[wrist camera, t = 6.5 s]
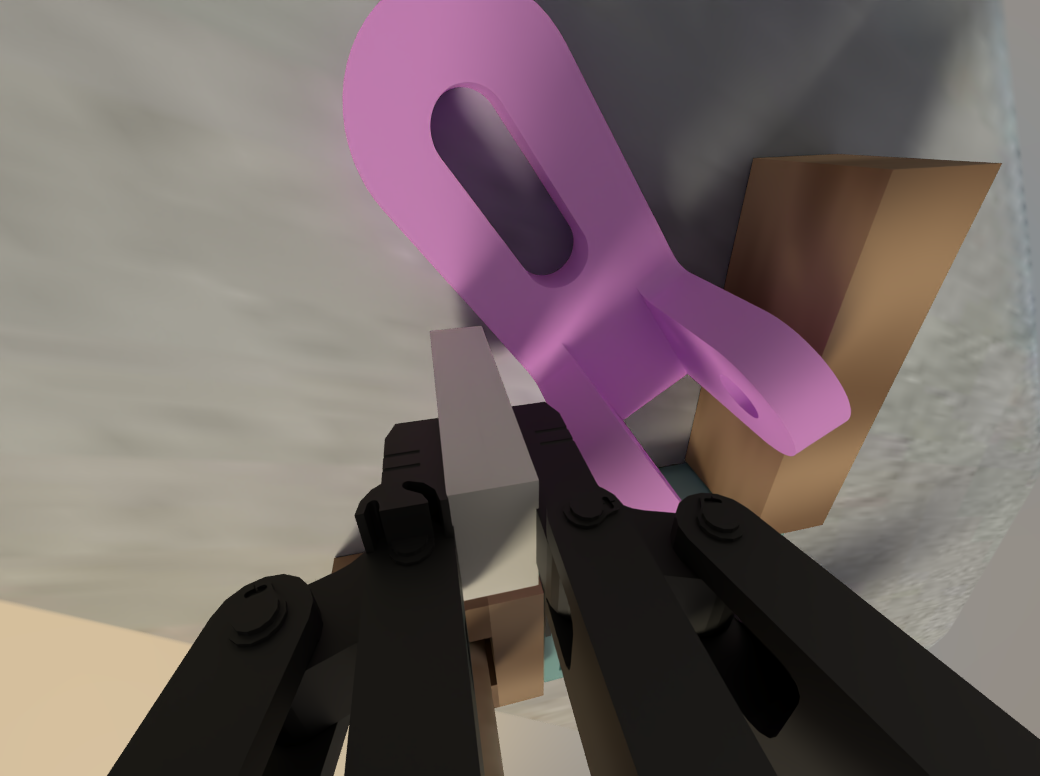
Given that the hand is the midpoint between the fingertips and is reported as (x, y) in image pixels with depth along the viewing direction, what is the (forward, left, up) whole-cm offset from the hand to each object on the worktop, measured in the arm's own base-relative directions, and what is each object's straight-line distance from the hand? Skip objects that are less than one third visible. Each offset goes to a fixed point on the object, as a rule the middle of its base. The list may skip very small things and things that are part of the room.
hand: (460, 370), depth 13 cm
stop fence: (+1, +11, -2) cm, 11 cm away
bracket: (-3, +3, -2) cm, 5 cm away
